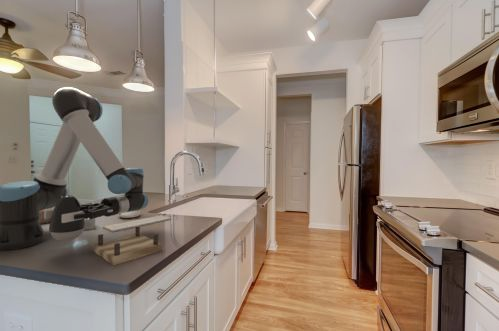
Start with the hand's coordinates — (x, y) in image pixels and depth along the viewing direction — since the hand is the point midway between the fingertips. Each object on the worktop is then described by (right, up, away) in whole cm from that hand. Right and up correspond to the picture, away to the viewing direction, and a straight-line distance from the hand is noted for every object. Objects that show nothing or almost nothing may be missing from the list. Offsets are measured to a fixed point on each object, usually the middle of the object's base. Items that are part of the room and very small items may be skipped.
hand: (53, 216), depth 83 cm
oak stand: (+22, -14, +7) cm, 27 cm away
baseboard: (+8, -13, +45) cm, 47 cm away
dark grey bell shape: (+1, -9, +4) cm, 10 cm away
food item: (-37, -12, +42) cm, 58 cm away
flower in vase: (-2, -12, +57) cm, 59 cm away
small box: (-12, -13, +35) cm, 39 cm away
